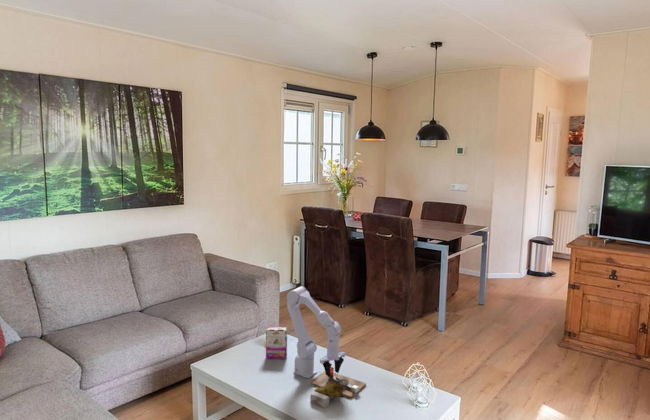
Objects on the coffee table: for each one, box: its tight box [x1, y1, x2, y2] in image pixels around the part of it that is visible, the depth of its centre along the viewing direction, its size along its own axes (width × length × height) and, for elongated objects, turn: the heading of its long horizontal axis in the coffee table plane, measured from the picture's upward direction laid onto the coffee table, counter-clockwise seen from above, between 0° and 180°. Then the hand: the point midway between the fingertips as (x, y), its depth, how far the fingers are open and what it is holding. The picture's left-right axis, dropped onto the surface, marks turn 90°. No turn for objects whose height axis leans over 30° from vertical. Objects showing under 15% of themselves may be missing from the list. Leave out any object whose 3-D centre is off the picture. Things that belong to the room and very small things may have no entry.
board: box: [308, 370, 367, 409], centre depth 217 cm, size 23×28×4 cm
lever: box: [328, 366, 360, 393], centre depth 220 cm, size 19×4×5 cm, turn 46°
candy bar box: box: [265, 326, 288, 360], centre depth 250 cm, size 11×5×16 cm, turn 88°
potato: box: [314, 382, 343, 399], centre depth 210 cm, size 8×13×8 cm, turn 61°
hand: (332, 373), depth 226 cm, fingers open, 5 cm apart
